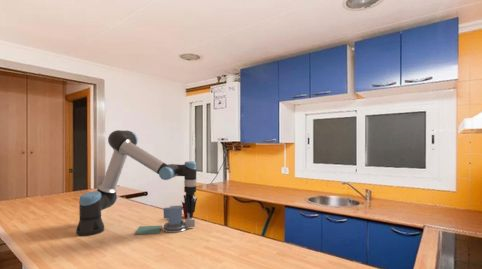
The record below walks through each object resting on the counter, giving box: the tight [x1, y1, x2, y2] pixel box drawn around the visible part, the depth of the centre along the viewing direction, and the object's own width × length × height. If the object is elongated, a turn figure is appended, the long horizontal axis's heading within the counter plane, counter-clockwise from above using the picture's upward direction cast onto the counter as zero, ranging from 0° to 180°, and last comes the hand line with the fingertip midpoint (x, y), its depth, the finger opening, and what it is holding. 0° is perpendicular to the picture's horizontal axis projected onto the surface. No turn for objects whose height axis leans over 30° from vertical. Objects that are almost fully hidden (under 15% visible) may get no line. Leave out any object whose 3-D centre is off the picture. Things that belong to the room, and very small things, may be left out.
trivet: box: [133, 225, 163, 236], centre depth 170 cm, size 14×14×1 cm
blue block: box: [163, 204, 183, 225], centre depth 173 cm, size 7×12×11 cm, turn 95°
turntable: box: [163, 218, 196, 231], centre depth 173 cm, size 14×19×4 cm
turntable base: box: [162, 226, 189, 234], centre depth 173 cm, size 15×15×1 cm
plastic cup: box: [180, 199, 195, 219], centre depth 198 cm, size 11×11×12 cm
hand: (189, 222), depth 176 cm, fingers closed
